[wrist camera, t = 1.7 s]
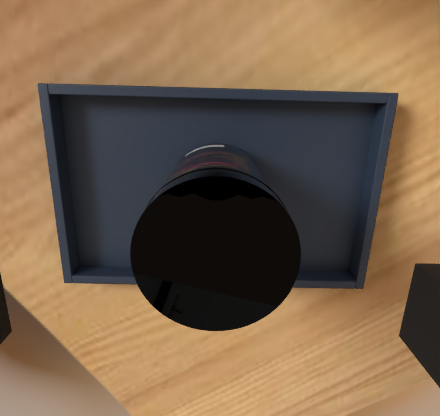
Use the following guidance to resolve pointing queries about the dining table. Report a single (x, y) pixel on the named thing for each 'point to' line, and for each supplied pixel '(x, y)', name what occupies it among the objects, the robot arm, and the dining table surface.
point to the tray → (208, 134)
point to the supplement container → (215, 242)
